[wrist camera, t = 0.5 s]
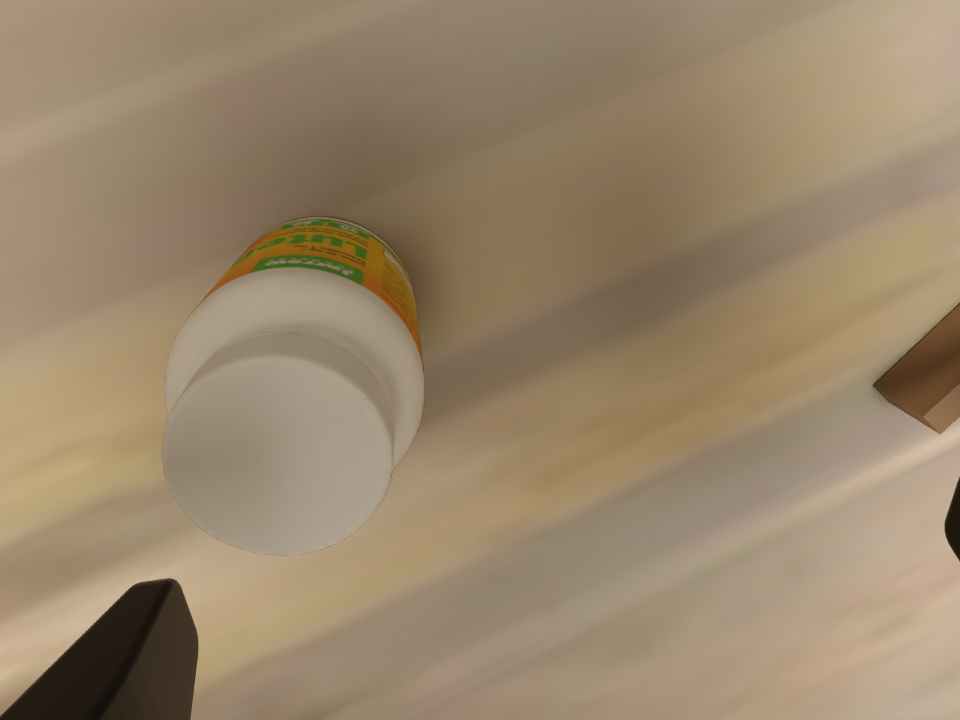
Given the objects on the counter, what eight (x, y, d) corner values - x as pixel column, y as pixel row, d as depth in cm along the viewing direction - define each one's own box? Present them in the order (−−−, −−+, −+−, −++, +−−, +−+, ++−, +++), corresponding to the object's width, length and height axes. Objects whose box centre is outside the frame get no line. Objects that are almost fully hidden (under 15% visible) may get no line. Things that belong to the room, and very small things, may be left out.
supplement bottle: (385, 191, 20) (382, 275, 11) (435, 359, 23) (467, 542, 14) (202, 242, 20) (55, 367, 11) (270, 406, 22) (191, 623, 13)
